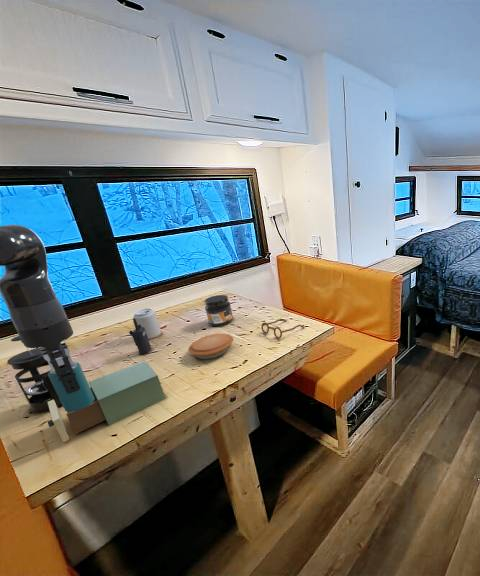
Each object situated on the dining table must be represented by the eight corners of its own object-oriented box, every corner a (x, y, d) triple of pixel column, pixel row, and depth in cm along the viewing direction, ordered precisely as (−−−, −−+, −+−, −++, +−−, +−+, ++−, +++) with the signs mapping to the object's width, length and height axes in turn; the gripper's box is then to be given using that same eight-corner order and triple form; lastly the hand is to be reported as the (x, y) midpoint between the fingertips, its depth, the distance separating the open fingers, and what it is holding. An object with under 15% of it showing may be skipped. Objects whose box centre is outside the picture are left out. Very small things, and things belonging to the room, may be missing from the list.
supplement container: (217, 329, 136) (211, 304, 132) (204, 324, 142) (198, 300, 138) (238, 320, 145) (233, 296, 141) (225, 315, 150) (220, 292, 146)
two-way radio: (148, 354, 118) (136, 319, 113) (134, 356, 116) (122, 321, 111) (152, 347, 123) (141, 313, 118) (139, 349, 121) (127, 315, 116)
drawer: (56, 445, 77) (45, 424, 74) (51, 424, 83) (40, 404, 81) (124, 413, 87) (116, 394, 84) (114, 397, 93) (107, 378, 91)
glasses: (261, 332, 132) (259, 322, 131) (285, 321, 143) (284, 311, 141) (281, 340, 126) (279, 329, 124) (305, 327, 136) (303, 317, 134)
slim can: (66, 415, 69) (48, 377, 66) (63, 405, 72) (45, 369, 69) (96, 402, 73) (81, 366, 69) (92, 393, 76) (77, 358, 72)
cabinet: (108, 425, 84) (97, 400, 81) (98, 405, 91) (88, 381, 88) (165, 398, 94) (157, 375, 91) (152, 382, 101) (144, 360, 98)
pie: (234, 338, 128) (232, 327, 127) (235, 356, 115) (232, 344, 113) (192, 347, 122) (189, 336, 121) (188, 367, 109) (184, 355, 107)
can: (163, 335, 132) (156, 310, 128) (142, 342, 127) (133, 316, 123) (159, 330, 137) (152, 305, 132) (139, 336, 132) (130, 311, 127)
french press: (25, 407, 91) (-11, 339, 83) (66, 388, 99) (36, 325, 91) (41, 419, 87) (5, 349, 79) (83, 398, 94) (54, 333, 86)
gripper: (13, 318, 66) (45, 382, 72) (17, 337, 58) (53, 408, 64) (61, 307, 72) (87, 367, 78) (71, 323, 63) (99, 390, 69)
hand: (71, 385), depth 71 cm, fingers closed on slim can, 5 cm apart
